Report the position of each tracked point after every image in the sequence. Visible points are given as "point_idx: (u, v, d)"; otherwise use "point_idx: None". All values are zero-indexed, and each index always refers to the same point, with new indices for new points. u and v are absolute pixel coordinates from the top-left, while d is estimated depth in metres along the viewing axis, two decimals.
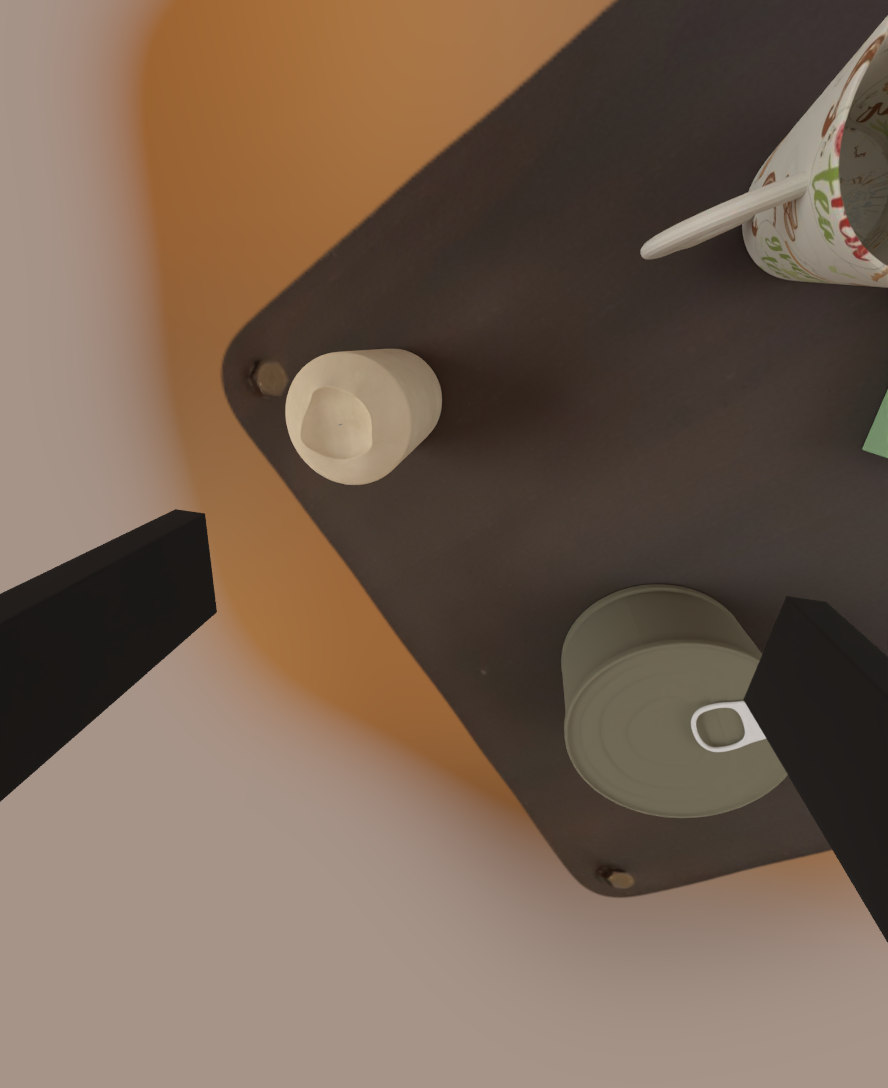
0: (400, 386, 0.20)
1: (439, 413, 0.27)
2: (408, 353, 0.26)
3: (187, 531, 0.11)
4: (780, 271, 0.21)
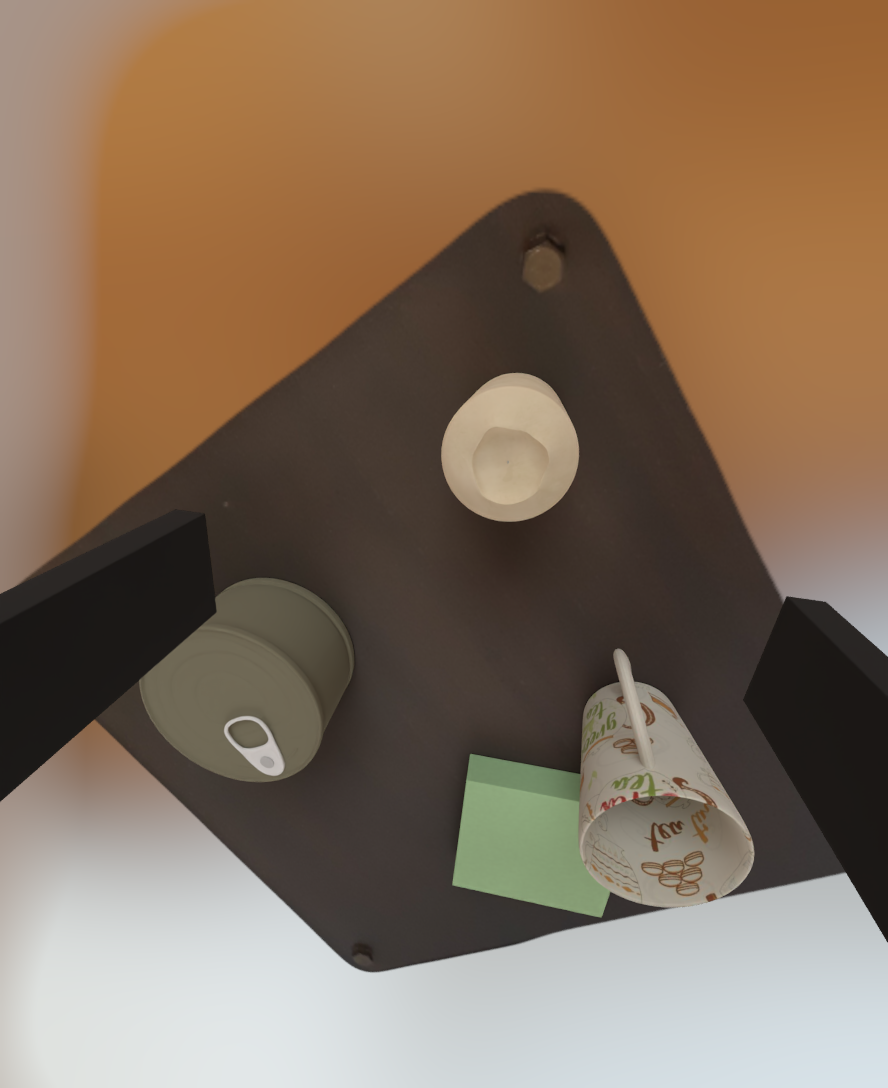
0: (540, 513, 0.20)
1: None
2: None
3: (187, 531, 0.11)
4: (592, 715, 0.31)
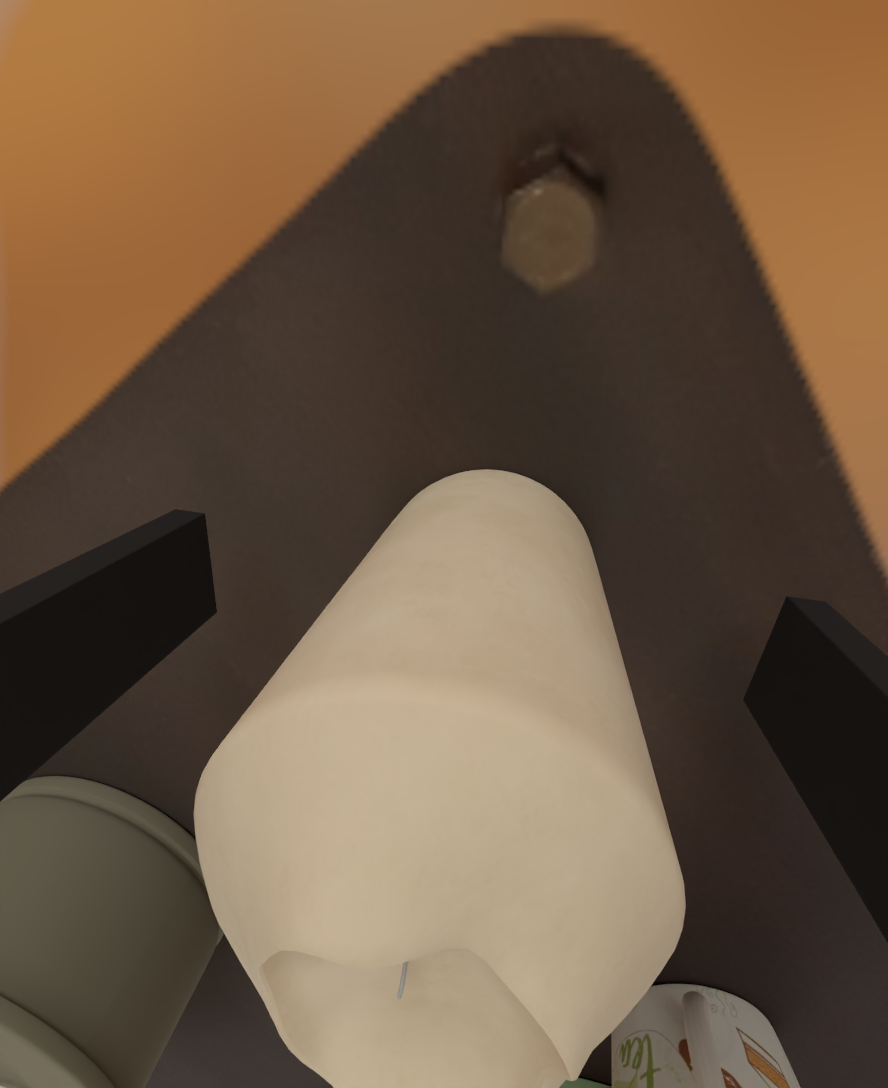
0: None
1: None
2: None
3: (187, 531, 0.11)
4: (632, 1065, 0.17)
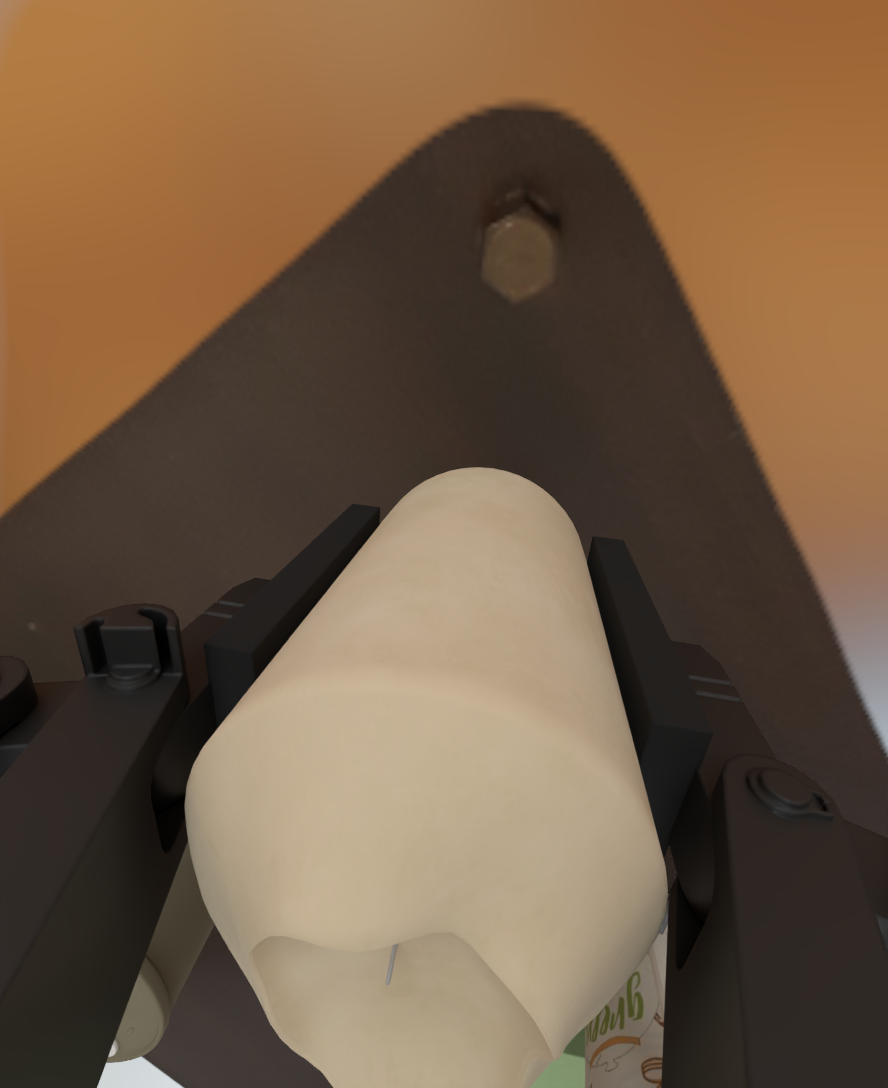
0: None
1: None
2: None
3: (372, 523, 0.12)
4: None
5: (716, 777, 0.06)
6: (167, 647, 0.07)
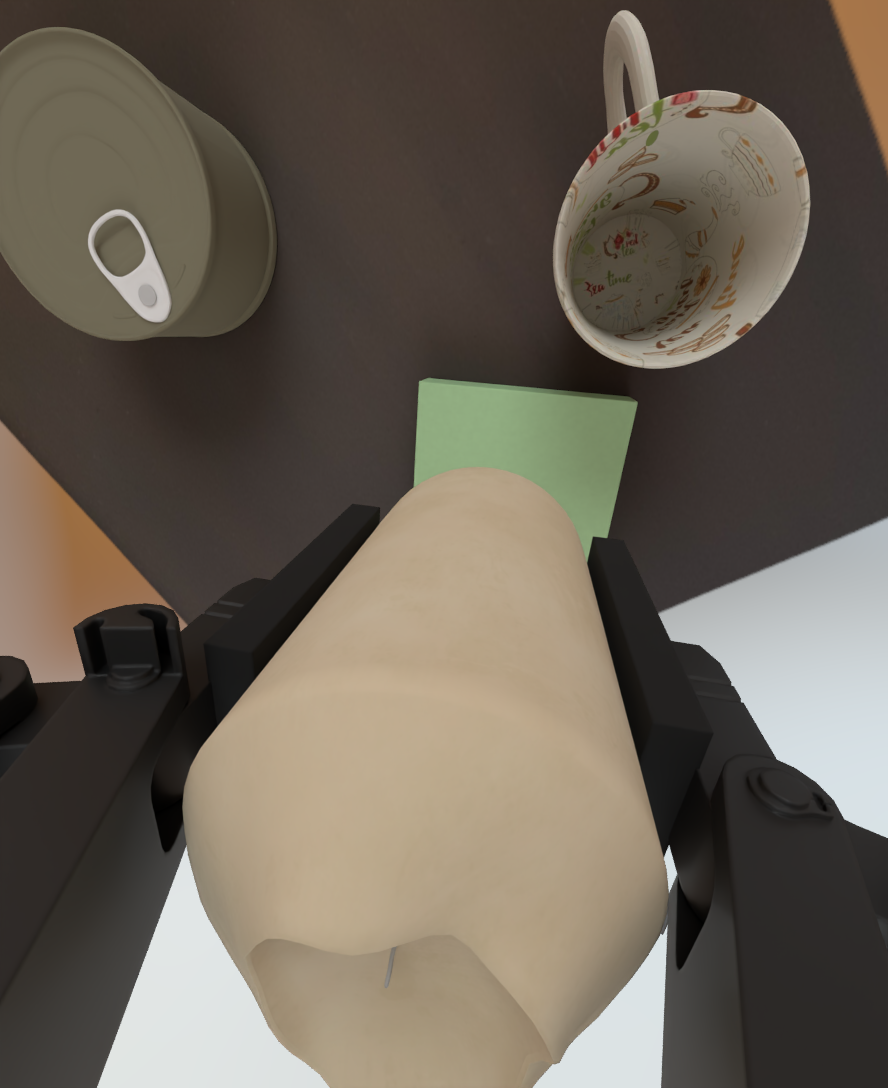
0: None
1: None
2: None
3: (372, 523, 0.12)
4: None
5: (716, 777, 0.06)
6: (167, 647, 0.07)
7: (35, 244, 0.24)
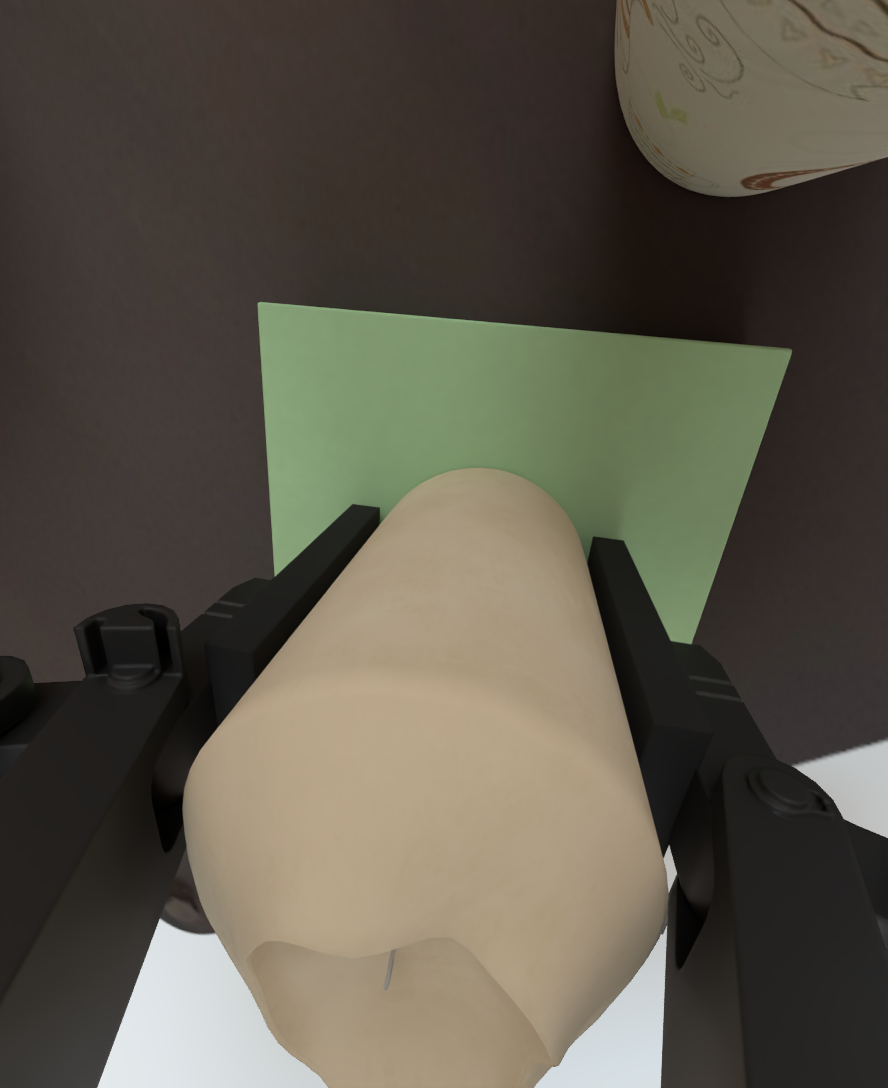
0: None
1: None
2: None
3: (372, 523, 0.12)
4: None
5: (716, 777, 0.06)
6: (168, 647, 0.07)
7: None
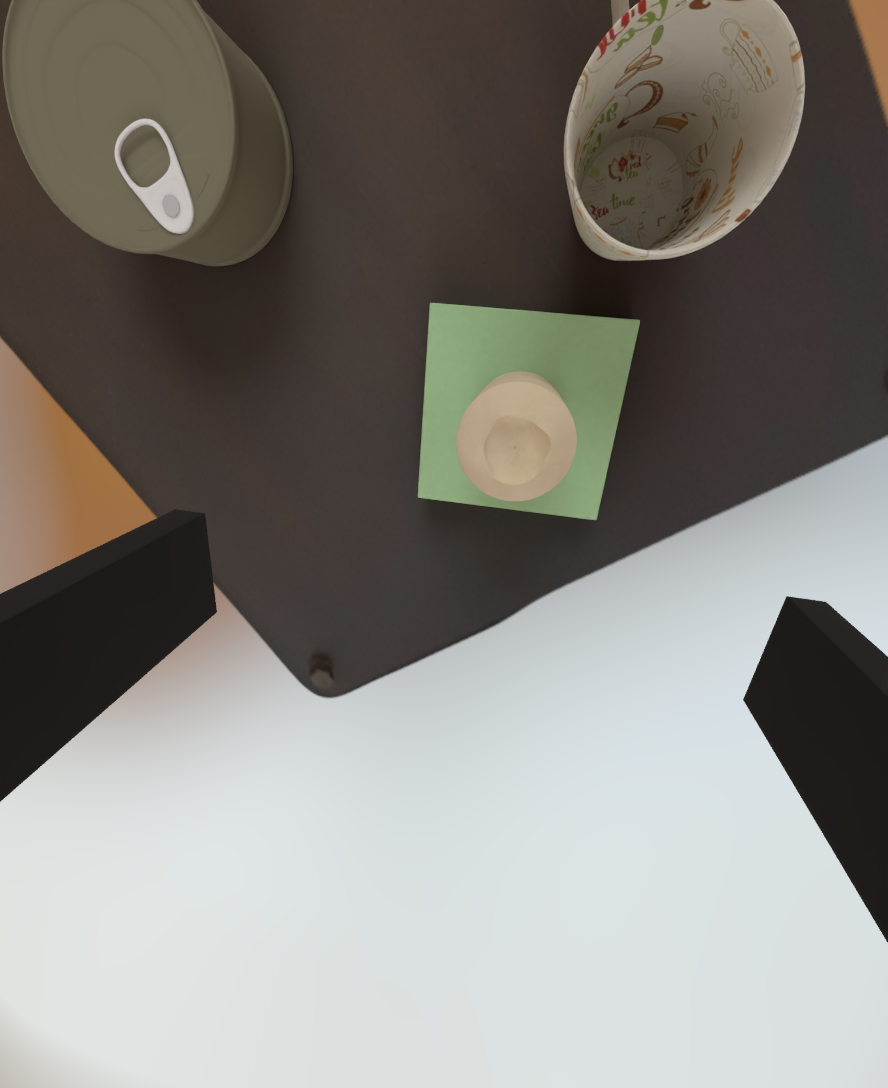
0: (543, 493, 0.23)
1: None
2: None
3: (187, 531, 0.11)
4: None
5: None
6: None
7: (62, 156, 0.25)
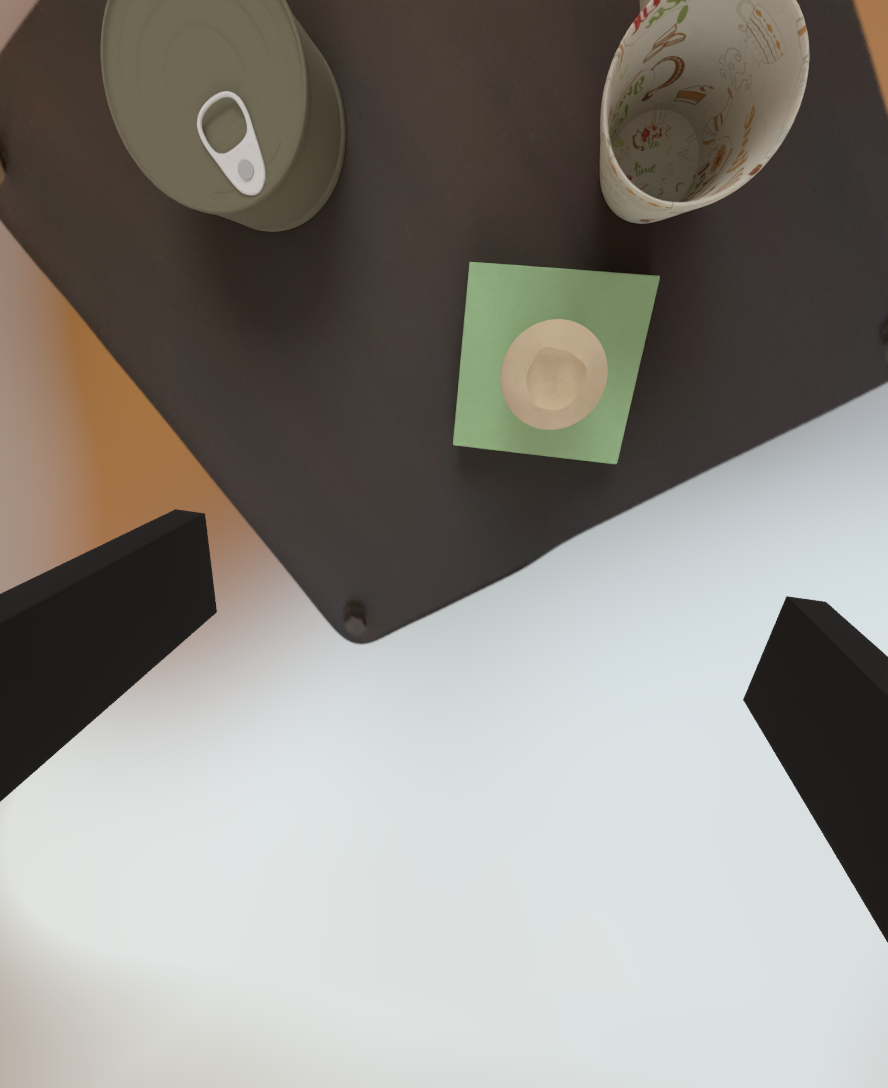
0: (576, 422, 0.26)
1: None
2: None
3: (187, 531, 0.11)
4: None
5: None
6: None
7: (149, 126, 0.28)
